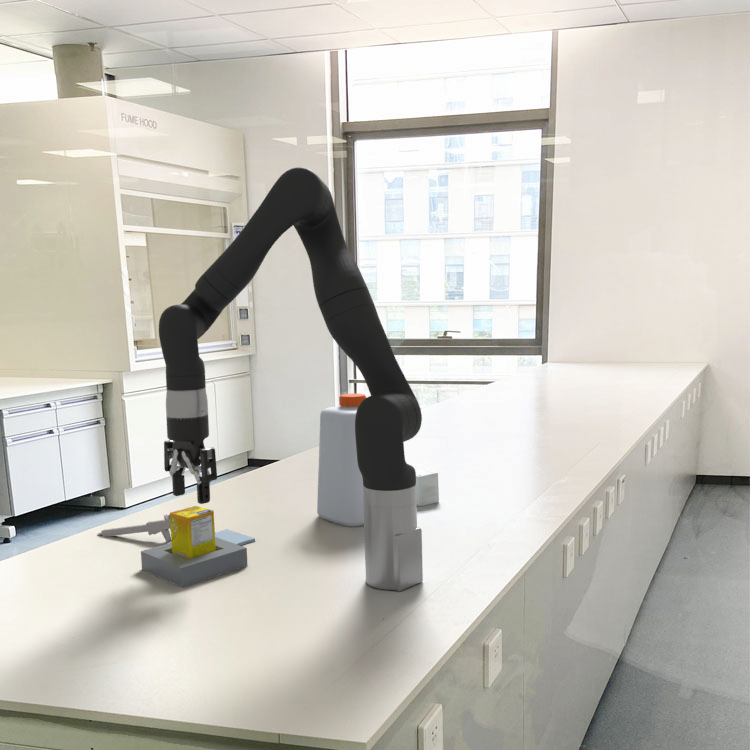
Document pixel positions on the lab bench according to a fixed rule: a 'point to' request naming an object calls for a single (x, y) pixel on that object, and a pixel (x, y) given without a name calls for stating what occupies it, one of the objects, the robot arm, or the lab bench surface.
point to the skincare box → (426, 487)
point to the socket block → (193, 563)
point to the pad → (234, 537)
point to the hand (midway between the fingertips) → (191, 498)
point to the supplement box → (192, 532)
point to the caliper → (143, 529)
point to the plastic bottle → (340, 464)
